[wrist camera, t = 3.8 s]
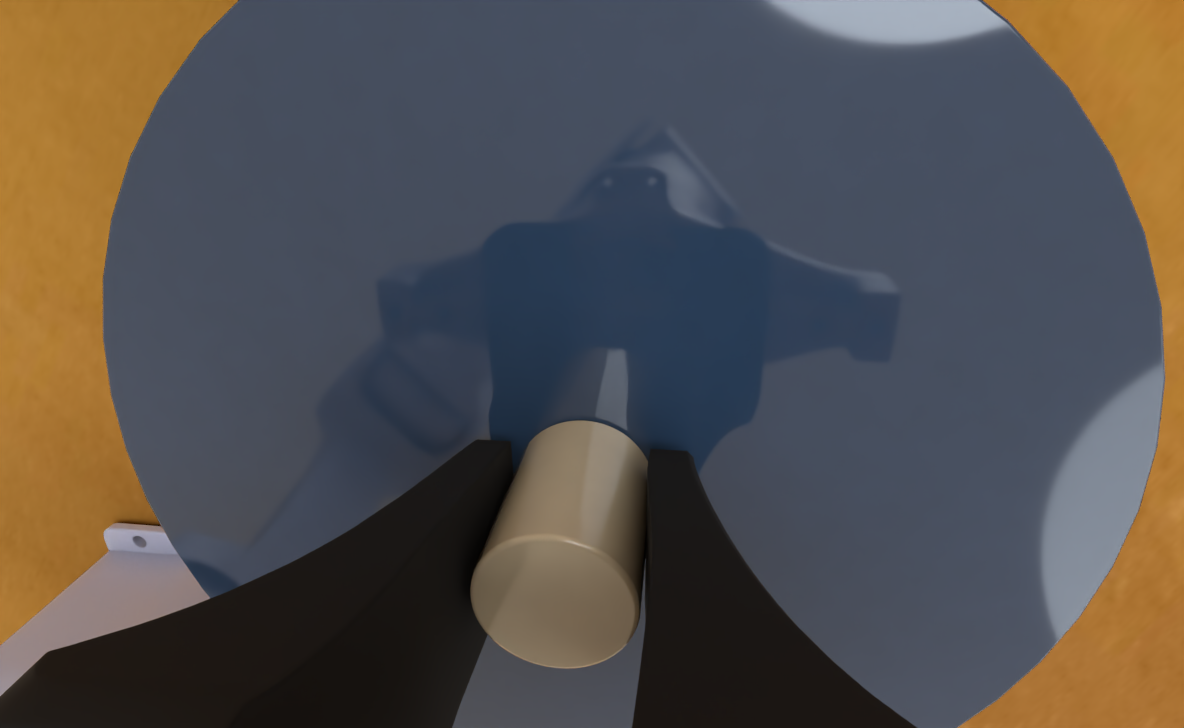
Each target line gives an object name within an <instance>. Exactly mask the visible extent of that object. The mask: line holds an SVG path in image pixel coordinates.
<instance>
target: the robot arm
mask: <svg viewBox="0 0 1184 728" xmlns="http://www.w3.org/2000/svg"><path fill="white" fill-rule="evenodd" d="M512 478H513V463H512V449H511V441H497V440H479V439H477V440H475V441H474V442H472V443H471V444H469V445H468V446H467V447H465V448H464V449H463V450H461V451H460V452H459V453H457V454H456V455H455V456H453V457H452V458H451V459H449V460H448V461H447V462H445V463H444V464H443V465H442V466H440V467H439V468H438V469H436V470H435V471H434V472H432V473H431V474H430V475H428V476H427V477H426V478H424V479H423V480H422V481H420V482H419V483H418V484H416V485H415V486H414V487H412V488H411V489H410V490H408V491H407V492H406V493H404V494H403V495H401V496H400V497H398V498H397V499H396V500H394V501H393V502H391V503H390V504H388V505H387V506H385V507H384V508H382V509H381V510H379V511H378V512H376V513H375V514H373V515H372V516H370V517H369V518H367V519H366V520H364V521H363V522H361V523H360V524H358V525H357V526H355V527H354V528H352V529H350V530H349V531H347V532H345V533H344V534H342V535H340V536H339V537H337V538H335V539H333V540H332V541H330V542H328V543H326V544H325V545H323V546H321V547H319V548H317V549H315V550H314V551H312V552H310V553H308V554H306V555H304V556H303V557H301V558H299V559H297V560H295V561H293V562H291V563H289V564H287V565H285V566H282V567H280V568H278V569H276V570H274V571H272V572H269V573H267V574H265V575H263V576H261V577H259V578H256V579H254V580H252V581H250V582H248V583H246V584H243V585H241V586H239V587H237V588H235V589H232V590H230V591H228V592H225V593H223V594H220V595H218V596H215V597H213V598H210V597H209V596H208V595H207V594H206V593H205V592H204V590H203V589H202V588H201V586H200V585H199V583H198V582H197V581H196V579H195V578H194V576H193V575H192V573H191V572H190V571H189V569H188V568H187V566H186V565H185V563H184V562H183V561H182V559H181V558H180V556H179V555H178V554H177V552H176V551H175V549H174V548H173V546H172V545H171V543H170V541H169V539H168V537H167V535H166V534H165V532H164V530H163V528H162V526H152V525H139V524H126V523H114V524H112V525H111V526H110V527H108V528H107V529H106V530H105V531H104V539H105V542H106V544H107V547H108V550H109V552H107V553H106V554H105V555H104V556H103V557H102V558H101V559H99V560H98V561H97V562H96V563H95V564H94V565H92V566H91V567H90V568H89V569H88V570H87V571H86V572H84V573H83V574H82V575H81V576H80V577H79V578H77V579H76V580H75V581H74V582H73V583H72V584H71V585H69V586H68V587H67V588H66V589H65V590H64V591H63V592H61V593H60V594H59V595H58V596H57V597H56V598H54V599H53V600H52V601H51V602H50V603H49V604H48V605H46V606H45V607H44V608H43V609H42V610H41V611H39V612H38V613H37V614H36V615H35V616H34V617H33V618H31V619H30V620H29V621H28V622H27V623H26V624H25V625H23V626H22V627H21V628H20V629H19V630H18V631H16V632H15V633H14V634H13V635H12V636H11V637H10V638H8V639H7V640H6V641H5V642H4V643H3V644H1V645H0V728H452V727H453V724H454V721H455V718H456V715H457V712H458V709H459V706H460V703H461V701H462V698H463V696H464V693H465V691H466V688H467V686H468V683H469V681H470V678H471V676H472V673H473V671H474V668H475V665H476V663H477V660H478V658H479V655H480V653H481V650H482V648H483V645H484V643H485V640H486V638H487V635H488V634H487V633H486V632H485V631H484V629H483V628H482V627H481V625H480V624H479V622H478V620H477V618H476V616H475V613H474V611H473V608H472V603H471V598H470V583H471V577H472V574H473V571H474V569H475V566H476V564H477V561H478V559H479V557H480V554H481V552H482V550H483V547H484V545H485V542H486V540H487V538H488V535H489V533H490V530H491V528H492V526H493V523H494V521H495V518H496V516H497V514H498V511H499V509H500V506H501V504H502V502H503V499H504V497H505V494H506V492H507V490H508V487H509V485H510V483H511V480H512ZM632 728H917V727H915V726H914V725H913V724H911V723H910V722H909V721H907V720H906V719H905V718H903V717H902V716H901V715H899V714H898V713H896V712H895V711H894V710H892V709H891V708H890V707H888V706H887V705H886V704H884V703H883V702H882V701H880V700H879V699H877V698H876V697H875V696H873V695H872V694H871V693H870V692H868V691H867V690H866V689H865V688H864V687H862V686H861V685H860V684H859V683H858V682H857V681H855V680H854V679H853V678H852V677H851V676H850V675H848V674H847V673H846V672H845V671H844V670H843V669H841V668H840V667H839V666H838V665H837V664H836V663H834V662H833V661H832V660H831V659H830V658H829V657H828V656H827V655H826V654H825V653H824V652H823V651H822V650H821V649H820V648H819V647H818V646H817V645H816V644H815V643H814V642H813V641H812V640H811V639H810V638H809V637H808V636H807V635H806V634H805V633H804V632H803V631H802V630H801V629H800V628H799V627H798V626H797V625H796V624H795V623H794V622H793V620H792V619H791V618H790V617H789V616H788V615H787V614H786V612H785V611H784V610H783V609H782V608H781V607H780V606H779V605H778V603H777V602H776V601H775V600H774V599H773V597H772V596H771V595H770V594H769V592H768V591H767V590H766V589H765V587H764V586H763V585H762V584H761V582H760V581H759V580H758V578H757V577H756V576H755V574H754V573H753V572H752V570H751V569H750V567H749V566H748V564H747V563H746V562H745V560H744V559H743V557H742V556H741V554H740V553H739V551H738V550H737V548H736V546H735V545H734V543H733V542H732V540H731V539H730V537H729V535H728V534H727V532H726V530H725V529H724V527H723V525H722V523H721V521H720V519H719V518H718V516H717V514H716V512H715V510H714V509H713V507H712V505H711V503H710V501H709V499H708V497H707V494H706V492H705V490H704V488H703V485H702V483H701V481H700V478H699V476H698V473H697V470H696V467H695V463H694V457H693V456H692V455H691V454H690V453H689V452H688V451H681V450H662V449H651V450H650V455H649V461H648V467H647V509H646V564H645V632H644V640H643V649H642V657H641V665H640V673H639V681H638V688H637V695H636V702H635V710H634V717H633V724H632Z"/></svg>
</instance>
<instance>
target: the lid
mask: <svg viewBox="0 0 1184 728" xmlns="http://www.w3.org/2000/svg"><path fill="white" fill-rule="evenodd" d="M103 342H104V349H105V356H106V363H107V370H108V377H109V384H110V391H111V397H112V401H113V404H114V408H115V411H116V415H117V419H118V422H119V426H120V430H121V433H122V437H123V440H124V444H125V448H126V451H127V453H128V455H129V458H130V460H131V463H132V465H133V468H134V470H135V472H136V475H137V477H138V480H139V482H140V485H141V487H142V489H143V492H144V494H145V497H146V499H147V501H148V503H149V505H150V506H151V508H152V510H153V512H154V514H155V516H156V517H157V519H158V521H159V523H160V525H161V526H162V528H163V530H164V532H165V534H166V535H167V537H168V539H169V541H170V543H171V545H172V546H173V548H174V549H175V551H176V552H177V554H178V555H179V556H180V558H181V559H182V561H183V562H184V563H185V565H186V566H187V568H188V569H189V571H190V572H191V573H192V575H193V576H194V578H195V579H196V581H197V582H198V583H199V585H200V586H201V588H202V589H203V590H204V592H205V593H206V594H207V595H208V596H209V597H210V598H213V597H215V596H218V595H220V594H223V593H225V592H228V591H230V590H232V589H235V588H237V587H239V586H241V585H243V584H246V583H248V582H250V581H252V580H254V579H256V578H259V577H261V576H263V575H265V574H267V573H269V572H272V571H274V570H276V569H278V568H280V567H282V566H285V565H287V564H289V563H291V562H293V561H295V560H297V559H299V558H301V557H303V556H304V555H306V554H308V553H310V552H312V551H314V550H315V549H317V548H319V547H321V546H323V545H325V544H326V543H328V542H330V541H332V540H333V539H335V538H337V537H339V536H340V535H342V534H344V533H345V532H347V531H349V530H350V529H352V528H354V527H355V526H357V525H358V524H360V523H361V522H363V521H364V520H366V519H367V518H369V517H370V516H372V515H373V514H375V513H376V512H378V511H379V510H381V509H382V508H384V507H385V506H387V505H388V504H390V503H391V502H393V501H394V500H396V499H397V498H398V497H400V496H401V495H403V494H404V493H406V492H407V491H408V490H410V489H411V488H412V487H414V486H415V485H416V484H418V483H419V482H420V481H422V480H423V479H424V478H426V477H427V476H428V475H430V474H431V473H432V472H434V471H435V470H436V469H438V468H439V467H440V466H442V465H443V464H444V463H445V462H447V461H448V460H449V459H451V458H452V457H453V456H455V455H456V454H457V453H459V452H460V451H461V450H463V449H464V448H465V447H467V446H468V445H469V444H471V443H472V442H474V441H475V440H477V439H479V440H497V441H511V449H512V463H513V478H512V480H511V483H510V485H509V487H508V490H507V492H506V494H505V497H504V499H503V502H502V504H501V506H500V509H499V511H498V514H497V516H496V518H495V521H494V523H493V526H492V528H491V530H490V533H489V535H488V538H487V540H486V542H485V545H484V547H483V550H482V552H481V554H480V557H479V559H478V561H477V564H476V566H475V569H474V571H473V574H472V577H471V583H470V598H471V603H472V608H473V611H474V613H475V616H476V618H477V620H478V622H479V624H480V625H481V627H482V628H483V629H484V631H485V632H486V633H487V634H488V635H487V638H486V640H485V643H484V645H483V648H482V650H481V653H480V655H479V658H478V660H477V663H476V665H475V668H474V671H473V673H472V676H471V678H470V681H469V683H468V686H467V688H466V691H465V693H464V696H463V698H462V701H461V703H460V706H459V709H458V712H457V715H456V718H455V721H454V724H453V727H452V728H632V724H633V717H634V710H635V702H636V695H637V688H638V681H639V673H640V665H641V657H642V649H643V640H644V632H645V564H646V509H647V467H648V461H649V455H650V450H651V449H662V450H681V451H688V452H689V453H690V454H691V455H692V456H693V457H694V463H695V467H696V470H697V473H698V476H699V478H700V481H701V483H702V485H703V488H704V490H705V492H706V494H707V497H708V499H709V501H710V503H711V505H712V507H713V509H714V510H715V512H716V514H717V516H718V518H719V519H720V521H721V523H722V525H723V527H724V529H725V530H726V532H727V534H728V535H729V537H730V539H731V540H732V542H733V543H734V545H735V546H736V548H737V550H738V551H739V553H740V554H741V556H742V557H743V559H744V560H745V562H746V563H747V564H748V566H749V567H750V569H751V570H752V572H753V573H754V574H755V576H756V577H757V578H758V580H759V581H760V582H761V584H762V585H763V586H764V587H765V589H766V590H767V591H768V592H769V594H770V595H771V596H772V597H773V599H774V600H775V601H776V602H777V603H778V605H779V606H780V607H781V608H782V609H783V610H784V611H785V612H786V614H787V615H788V616H789V617H790V618H791V619H792V620H793V622H794V623H795V624H796V625H797V626H798V627H799V628H800V629H801V630H802V631H803V632H804V633H805V634H806V635H807V636H808V637H809V638H810V639H811V640H812V641H813V642H814V643H815V644H816V645H817V646H818V647H819V648H820V649H821V650H822V651H823V652H824V653H825V654H826V655H827V656H828V657H829V658H830V659H831V660H832V661H833V662H834V663H836V664H837V665H838V666H839V667H840V668H841V669H843V670H844V671H845V672H846V673H847V674H848V675H850V676H851V677H852V678H853V679H854V680H855V681H857V682H858V683H859V684H860V685H861V686H862V687H864V688H865V689H866V690H867V691H868V692H870V693H871V694H872V695H873V696H875V697H876V698H877V699H879V700H880V701H882V702H883V703H884V704H886V705H887V706H888V707H890V708H891V709H892V710H894V711H895V712H896V713H898V714H899V715H901V716H902V717H903V718H905V719H906V720H907V721H909V722H910V723H911V724H913V725H914V726H915V727H917V728H958V727H959V726H961V725H962V724H963V723H965V722H966V721H968V720H969V719H971V718H972V717H974V716H975V715H977V714H978V713H979V712H981V711H982V710H984V709H985V708H987V707H988V706H990V705H991V704H993V703H994V702H995V701H997V700H998V699H999V698H1000V697H1001V696H1003V695H1004V694H1005V693H1006V692H1007V691H1008V690H1009V689H1011V688H1012V687H1013V686H1014V685H1015V684H1016V683H1017V682H1019V681H1020V680H1021V679H1022V678H1023V677H1024V676H1025V675H1026V674H1028V673H1029V672H1030V671H1031V670H1032V669H1033V668H1034V667H1036V666H1037V665H1038V664H1039V663H1040V662H1041V661H1042V660H1043V659H1044V657H1045V656H1046V655H1047V654H1048V653H1049V652H1050V651H1051V650H1052V648H1053V647H1054V646H1055V645H1056V644H1057V643H1058V642H1059V640H1060V639H1061V638H1062V637H1063V636H1064V635H1065V634H1066V632H1067V631H1068V630H1069V629H1070V628H1071V627H1072V626H1073V624H1074V623H1075V622H1076V621H1077V620H1078V619H1079V617H1080V616H1081V614H1082V613H1083V611H1084V610H1085V608H1086V607H1087V605H1088V604H1089V602H1090V601H1091V599H1092V598H1093V596H1094V595H1095V593H1096V592H1097V590H1098V589H1099V587H1100V586H1101V584H1102V582H1103V581H1104V579H1105V578H1106V576H1107V575H1108V573H1109V572H1110V570H1111V569H1112V567H1113V565H1114V563H1115V561H1116V559H1117V557H1118V554H1119V552H1120V550H1121V548H1122V546H1123V544H1124V542H1125V539H1126V537H1127V535H1128V533H1129V531H1130V529H1131V526H1132V524H1133V522H1134V520H1135V518H1136V516H1137V514H1138V511H1139V509H1140V505H1141V502H1142V498H1143V495H1144V491H1145V488H1146V484H1147V481H1148V477H1149V474H1150V471H1151V467H1152V464H1153V460H1154V457H1155V453H1156V450H1157V445H1158V437H1159V428H1160V419H1161V411H1162V402H1163V394H1164V385H1165V365H1164V346H1163V327H1162V307H1161V302H1160V298H1159V294H1158V289H1157V285H1156V281H1155V276H1154V272H1153V267H1152V263H1151V259H1150V254H1149V250H1148V245H1147V241H1146V237H1145V232H1144V230H1143V227H1142V225H1141V222H1140V220H1139V218H1138V215H1137V213H1136V211H1135V208H1134V206H1133V203H1132V201H1131V199H1130V196H1129V194H1128V191H1127V189H1126V187H1125V184H1124V182H1123V179H1122V177H1121V175H1120V172H1119V170H1118V168H1117V165H1116V163H1115V160H1114V158H1113V156H1112V155H1111V153H1110V151H1109V150H1108V148H1107V147H1106V145H1105V144H1104V142H1103V141H1102V139H1101V137H1100V136H1099V134H1098V133H1097V131H1096V130H1095V128H1094V126H1093V125H1092V123H1091V122H1090V120H1089V119H1088V117H1087V115H1086V114H1085V112H1084V111H1083V109H1082V108H1081V106H1080V104H1079V103H1078V101H1077V100H1076V98H1075V97H1074V95H1073V94H1072V92H1071V90H1070V89H1069V87H1068V86H1067V85H1066V84H1065V82H1064V81H1063V80H1062V79H1061V78H1060V77H1059V76H1058V75H1057V74H1056V72H1055V71H1054V70H1053V69H1052V68H1051V67H1050V66H1049V65H1048V64H1047V63H1046V61H1045V60H1044V59H1043V58H1042V57H1041V56H1040V55H1039V54H1038V53H1037V52H1036V50H1035V49H1034V48H1033V47H1032V46H1031V45H1030V44H1029V43H1028V42H1027V41H1026V39H1025V38H1024V37H1023V36H1022V35H1021V34H1020V33H1019V32H1018V31H1017V30H1016V28H1015V27H1014V26H1013V25H1012V24H1011V23H1010V22H1009V21H1008V20H1007V19H1006V18H1005V17H1003V16H1002V15H1001V14H1000V13H998V12H997V11H996V10H995V9H993V8H992V7H991V6H990V5H988V4H987V3H986V2H984V1H983V0H239V1H238V2H237V3H236V4H235V5H234V6H233V7H232V8H231V9H230V10H229V11H228V12H227V13H226V14H225V15H224V16H223V17H222V18H221V19H220V20H219V21H218V22H217V23H216V24H215V25H214V26H213V27H212V28H211V29H210V30H209V31H208V32H207V33H206V34H205V35H204V36H203V37H202V38H201V39H200V40H199V42H198V43H197V45H196V46H195V47H194V49H193V50H192V52H191V53H190V54H189V56H188V57H187V59H186V60H185V61H184V63H183V64H182V66H181V67H180V69H179V70H178V71H177V73H176V74H175V76H174V77H173V78H172V80H171V81H170V83H169V84H168V85H167V87H166V88H165V90H164V91H163V93H162V94H161V95H160V97H159V99H158V101H157V103H156V105H155V107H154V109H153V111H152V113H151V115H150V117H149V119H148V121H147V124H146V126H145V128H144V130H143V132H142V134H141V136H140V138H139V140H138V142H137V144H136V146H135V148H134V150H133V152H132V154H131V156H130V159H129V162H128V166H127V169H126V172H125V176H124V179H123V182H122V186H121V189H120V192H119V195H118V199H117V202H116V205H115V209H114V212H113V215H112V219H111V226H110V233H109V240H108V247H107V254H106V261H105V268H104V275H103Z"/></svg>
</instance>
